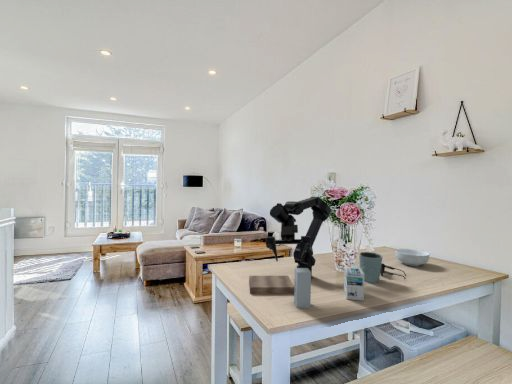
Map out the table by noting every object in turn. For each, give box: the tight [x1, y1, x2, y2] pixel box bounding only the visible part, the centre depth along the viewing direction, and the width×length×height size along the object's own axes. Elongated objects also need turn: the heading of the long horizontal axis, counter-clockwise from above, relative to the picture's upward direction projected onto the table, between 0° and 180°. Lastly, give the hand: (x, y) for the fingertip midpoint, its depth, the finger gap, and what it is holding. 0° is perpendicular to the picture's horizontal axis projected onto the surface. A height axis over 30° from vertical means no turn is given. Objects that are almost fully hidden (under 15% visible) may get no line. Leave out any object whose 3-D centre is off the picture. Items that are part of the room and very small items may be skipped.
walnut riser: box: [248, 275, 294, 294], centre depth 121 cm, size 18×14×2 cm
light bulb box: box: [343, 264, 365, 301], centre depth 114 cm, size 11×7×11 cm, turn 168°
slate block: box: [293, 267, 312, 309], centre depth 104 cm, size 5×5×13 cm
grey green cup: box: [358, 251, 383, 284], centre depth 132 cm, size 10×10×12 cm
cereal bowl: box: [394, 248, 430, 267], centre depth 159 cm, size 17×17×7 cm
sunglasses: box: [380, 263, 407, 280], centre depth 139 cm, size 11×12×5 cm
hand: (288, 261), depth 113 cm, fingers open, 9 cm apart
